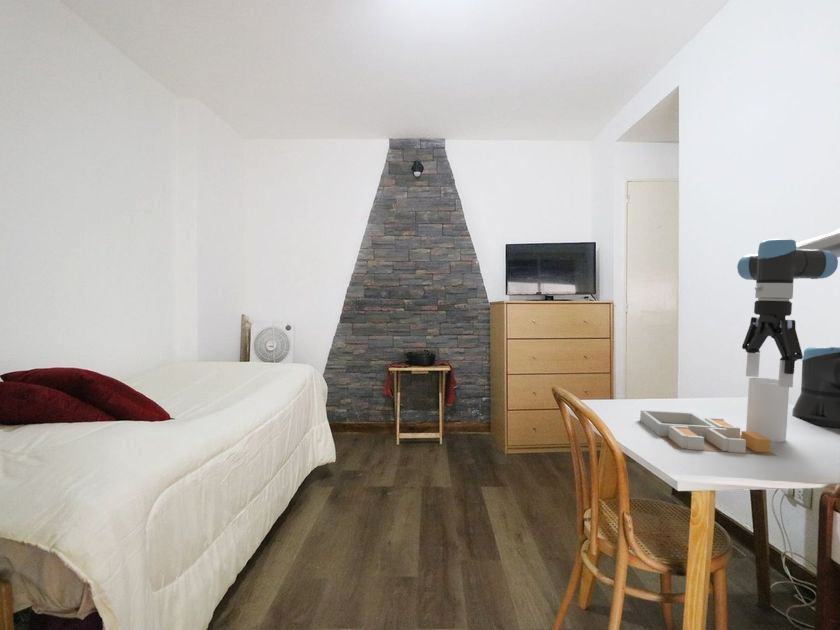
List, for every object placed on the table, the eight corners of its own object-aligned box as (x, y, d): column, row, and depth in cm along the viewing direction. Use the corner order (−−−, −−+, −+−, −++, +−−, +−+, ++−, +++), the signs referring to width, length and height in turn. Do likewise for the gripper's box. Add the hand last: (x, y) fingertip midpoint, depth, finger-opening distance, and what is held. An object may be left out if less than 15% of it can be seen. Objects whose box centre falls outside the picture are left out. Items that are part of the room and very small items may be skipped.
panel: (722, 428, 124) (722, 424, 124) (777, 460, 100) (777, 455, 100) (640, 424, 127) (640, 420, 127) (674, 453, 104) (674, 448, 104)
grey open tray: (724, 440, 111) (725, 428, 111) (745, 452, 102) (745, 440, 102) (705, 438, 111) (706, 427, 111) (724, 451, 103) (724, 438, 102)
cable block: (754, 443, 108) (754, 431, 108) (769, 452, 102) (770, 439, 102) (741, 442, 109) (741, 431, 109) (755, 451, 103) (756, 439, 103)
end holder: (691, 423, 125) (692, 412, 125) (717, 439, 111) (717, 427, 111) (640, 420, 127) (640, 409, 127) (658, 435, 114) (659, 424, 113)
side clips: (721, 429, 120) (721, 418, 120) (764, 454, 101) (764, 441, 101) (653, 425, 123) (653, 414, 122) (683, 448, 104) (683, 436, 104)
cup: (793, 447, 109) (797, 384, 109) (756, 444, 111) (759, 382, 110) (773, 437, 117) (777, 378, 117) (739, 434, 119) (742, 376, 118)
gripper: (730, 299, 125) (726, 372, 126) (790, 300, 101) (783, 390, 102) (759, 299, 124) (754, 373, 125) (826, 301, 99) (819, 392, 101)
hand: (767, 381), depth 113 cm, fingers open, 13 cm apart
